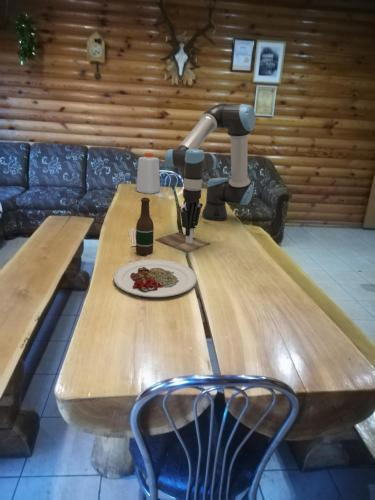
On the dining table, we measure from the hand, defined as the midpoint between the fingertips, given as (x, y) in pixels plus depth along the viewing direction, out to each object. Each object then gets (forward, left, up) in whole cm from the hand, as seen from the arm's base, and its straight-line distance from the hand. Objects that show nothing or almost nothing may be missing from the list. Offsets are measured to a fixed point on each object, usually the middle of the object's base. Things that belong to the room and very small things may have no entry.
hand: (188, 242), depth 150 cm
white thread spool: (-68, -99, -5) cm, 120 cm away
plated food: (+29, +9, -5) cm, 31 cm away
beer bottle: (+15, -12, -5) cm, 20 cm away
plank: (-6, -3, -5) cm, 8 cm away
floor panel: (-6, -13, -5) cm, 15 cm away
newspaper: (+6, -28, -6) cm, 29 cm away
